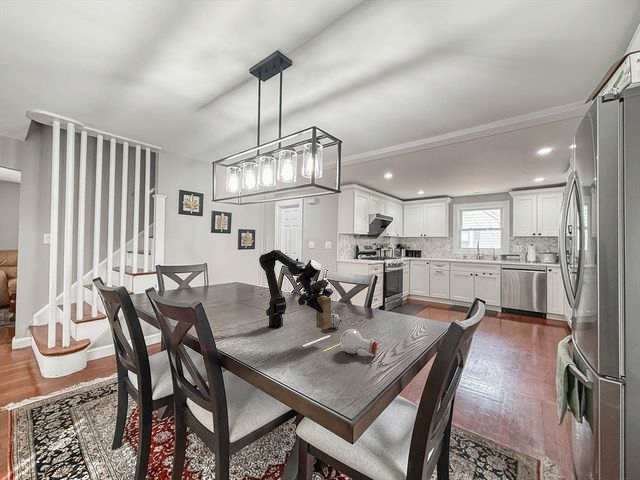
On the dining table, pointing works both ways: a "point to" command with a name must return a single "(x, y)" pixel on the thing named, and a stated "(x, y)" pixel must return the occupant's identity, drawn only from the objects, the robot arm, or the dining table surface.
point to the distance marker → (331, 347)
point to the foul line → (315, 341)
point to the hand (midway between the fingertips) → (326, 311)
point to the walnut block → (324, 313)
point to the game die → (335, 321)
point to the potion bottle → (357, 343)
